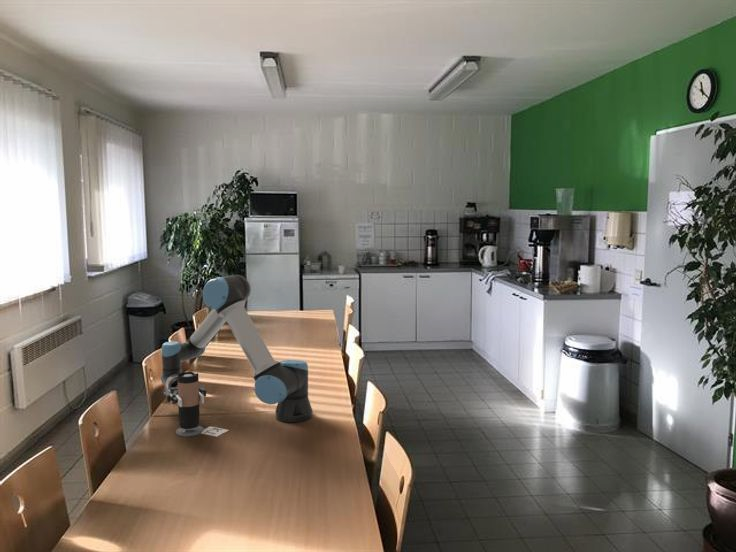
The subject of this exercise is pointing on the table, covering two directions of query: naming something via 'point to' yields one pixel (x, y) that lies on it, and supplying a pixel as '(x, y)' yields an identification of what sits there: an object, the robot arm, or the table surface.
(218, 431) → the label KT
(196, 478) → the table surface
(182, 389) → the travel mug
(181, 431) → the slate coaster
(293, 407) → the robot arm
